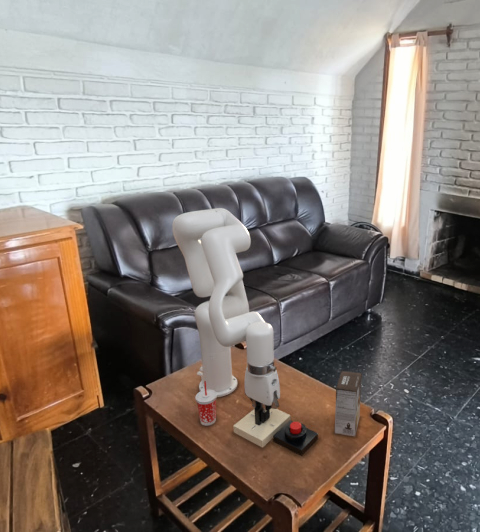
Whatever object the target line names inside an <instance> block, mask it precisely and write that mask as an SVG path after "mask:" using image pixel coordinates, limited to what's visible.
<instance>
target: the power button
mask: <svg viewBox="0 0 480 532" xmlns="http://www.w3.org/2000/svg"><path fill="white" fill-rule="evenodd" d="M299 422H300V421H293V422H292V423H291V424H290V432H291V433H292V434H299V433H300V432H301V423H302V422H300V423H299Z"/></svg>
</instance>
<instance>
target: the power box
mask: <svg viewBox="0 0 480 532" xmlns="http://www.w3.org/2000/svg"><path fill="white" fill-rule="evenodd" d="M292 422H294V421H293V420H291V419H290V421H289V422H288V423H287V424H286V425H284V426H283V427H282V428H281V429H280V430H279V431H278V432H277V433H276V434H275V435H274V436H273V438H272V441H273V443H274V444H277V445H279V446H281V447H283V448H284V449H286V450H289V451H290V452H292V453H294V454H296V455H298V456H300V457H303V456H304V455H305V454H306V453H307V452H308V451H309V449H310V448H311V447H313V445H314V444H315V443H316V442H317V441H318V440H319V432H316V431H314V430H312V429H310V428H308V427H307V426H306V425H305V424H304V423H302V422H300V421H298V422H299V423H301V432H300V433H299V434H292V433H291V432H290V424H291V423H292Z"/></svg>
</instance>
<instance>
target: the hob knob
mask: <svg viewBox="0 0 480 532" xmlns="http://www.w3.org/2000/svg"><path fill="white" fill-rule="evenodd" d="M254 409H255V408H254ZM261 411H262V404H261V405H260V406H259V407H257V408H256V409H255V424H257V425H260V424H262V422H261Z"/></svg>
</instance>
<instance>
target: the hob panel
mask: <svg viewBox="0 0 480 532" xmlns="http://www.w3.org/2000/svg"><path fill="white" fill-rule="evenodd" d="M290 420H291V415H290V414H289V413H287V412H285V411H283V410H280V409H278V408H277V409H270V418H269V419H268V420H266V421H265V422H264V423H262V424H260V425H257V424H255V408H253V409H252V410H251V411H250V412H248V413H247V414H246V415H245V416H243V417H242V418H241V419H239V420H238V421H237V422H236V423H234V424H233V425H232V427H233V433H234V434H236V435H238V436H240V437H241V438H243V439H245V440H247V441H248V442H251V443H252V444H255V445H257V446H258V447H260V448H264V447H265V446H266V445H267V444H268V443H269V442H270V441H272V440H273V436H274V435H275V434H276V433H277V432H278V431H279V430H280V429H281V428H282V427H283V426H284V425H286V424H287V423H288V422H289V421H290Z"/></svg>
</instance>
